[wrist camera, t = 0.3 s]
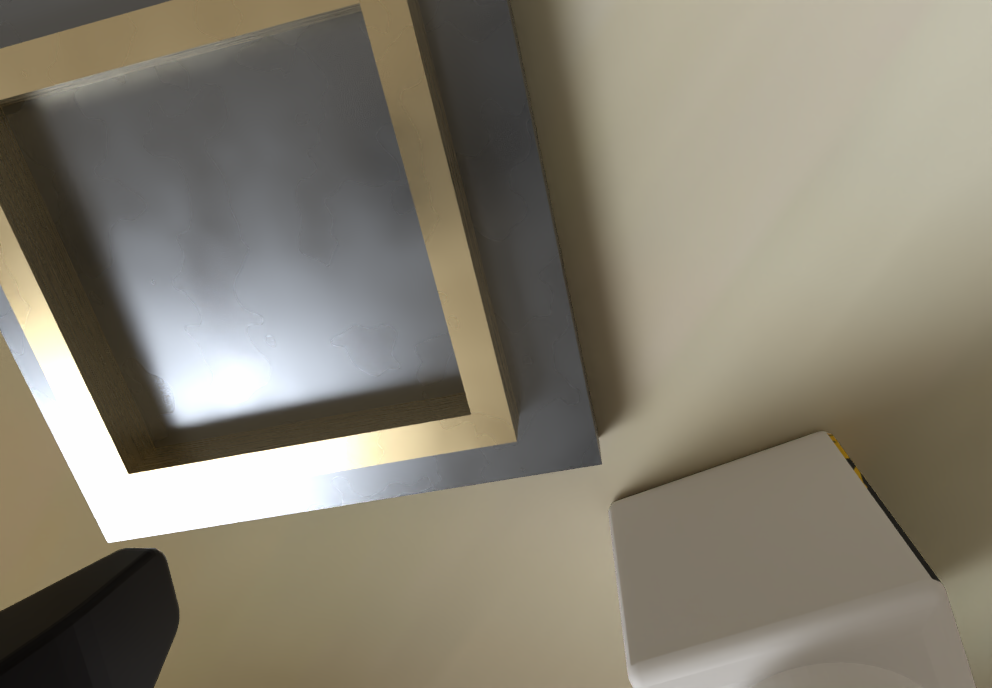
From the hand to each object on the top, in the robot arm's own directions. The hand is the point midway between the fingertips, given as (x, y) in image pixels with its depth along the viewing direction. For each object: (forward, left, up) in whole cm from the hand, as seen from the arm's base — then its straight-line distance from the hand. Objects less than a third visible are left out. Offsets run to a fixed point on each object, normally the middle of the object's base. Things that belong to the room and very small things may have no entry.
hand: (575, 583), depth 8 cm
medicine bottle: (-11, -4, -14) cm, 18 cm away
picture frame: (+2, +8, -14) cm, 16 cm away
